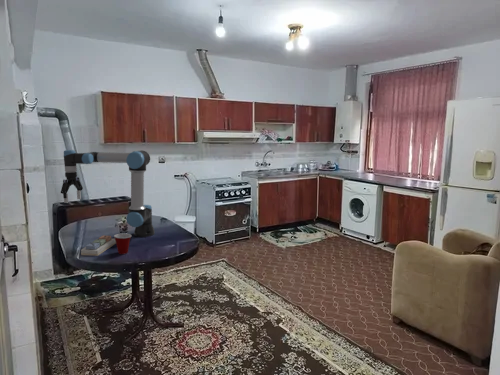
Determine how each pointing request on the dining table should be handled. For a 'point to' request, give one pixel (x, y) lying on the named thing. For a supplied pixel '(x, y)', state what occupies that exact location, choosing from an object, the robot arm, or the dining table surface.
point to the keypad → (98, 250)
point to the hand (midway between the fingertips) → (72, 200)
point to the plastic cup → (122, 242)
